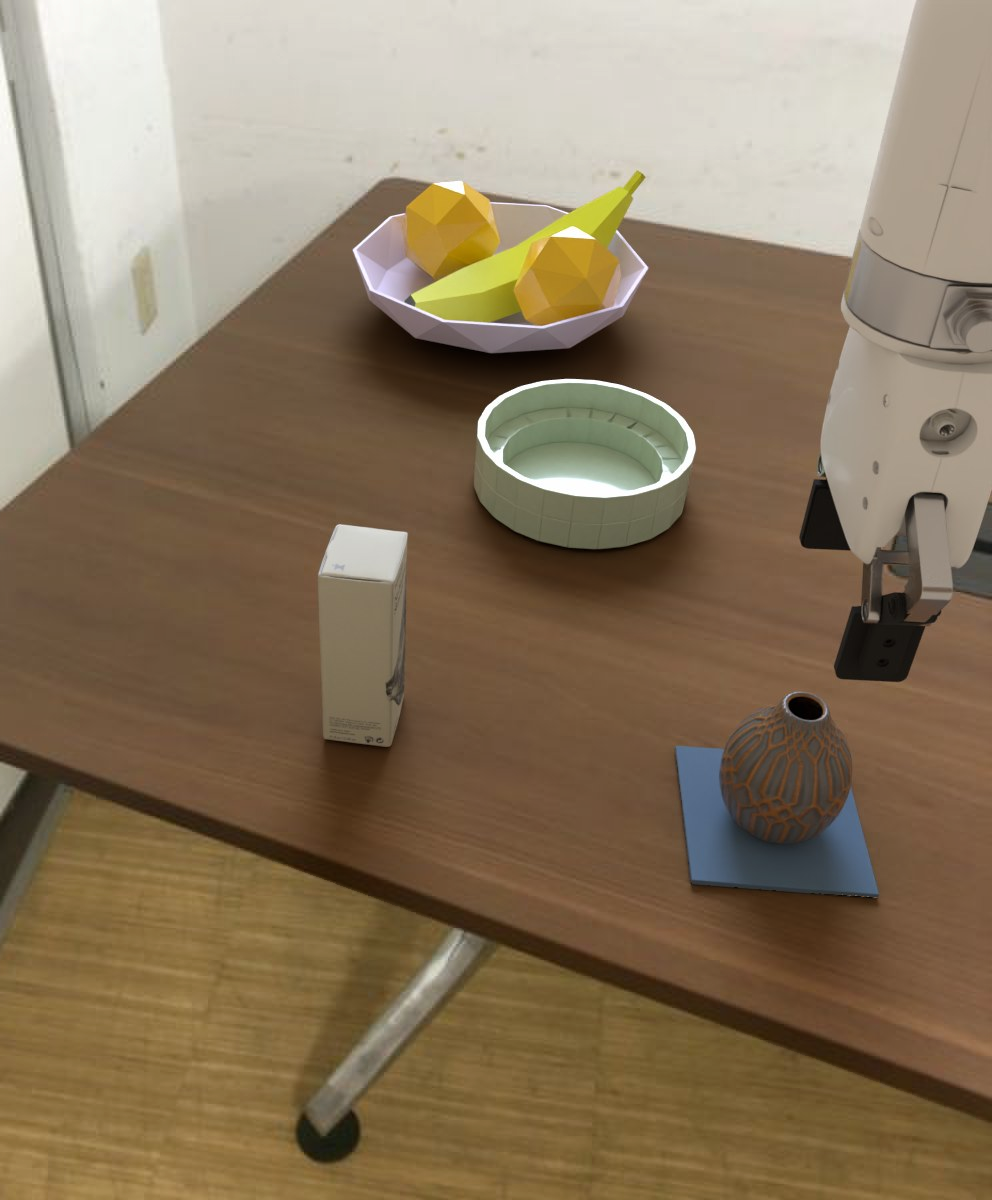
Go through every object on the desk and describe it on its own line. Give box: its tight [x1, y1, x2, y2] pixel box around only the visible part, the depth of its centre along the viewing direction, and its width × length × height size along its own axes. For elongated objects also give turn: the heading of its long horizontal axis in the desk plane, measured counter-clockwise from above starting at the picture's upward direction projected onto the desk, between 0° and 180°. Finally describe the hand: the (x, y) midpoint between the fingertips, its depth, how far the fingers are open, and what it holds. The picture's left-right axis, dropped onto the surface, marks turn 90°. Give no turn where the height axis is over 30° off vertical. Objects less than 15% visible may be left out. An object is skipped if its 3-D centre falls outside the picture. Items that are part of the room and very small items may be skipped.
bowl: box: [473, 378, 697, 550], centre depth 95 cm, size 16×16×5 cm
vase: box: [719, 691, 853, 844], centre depth 68 cm, size 7×7×9 cm
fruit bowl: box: [352, 169, 649, 354], centre depth 114 cm, size 28×27×11 cm
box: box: [317, 523, 409, 748], centre depth 73 cm, size 5×4×13 cm
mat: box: [674, 745, 880, 898], centre depth 71 cm, size 10×10×1 cm
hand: (848, 607), depth 61 cm, fingers open, 9 cm apart
